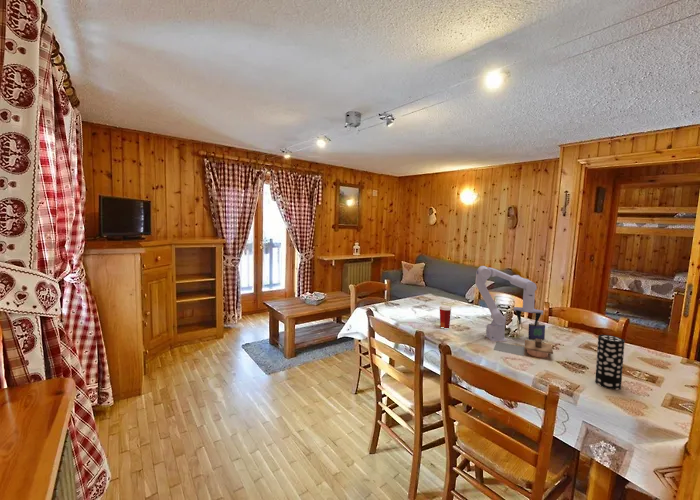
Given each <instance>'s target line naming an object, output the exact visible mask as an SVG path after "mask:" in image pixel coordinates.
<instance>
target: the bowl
mask: <svg viewBox="0 0 700 500" xmlns="http://www.w3.org/2000/svg"><path fill="white" fill-rule="evenodd" d="M526 350H527V351H526V352H527V354H528V355H530V356H532V357H536V358H545V359H546V358H548V357H549V353H545V352H539V351H533V350H528V349H526Z"/></svg>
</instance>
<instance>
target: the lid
mask: <svg viewBox="0 0 700 500" xmlns="http://www.w3.org/2000/svg"><path fill="white" fill-rule="evenodd" d="M524 347H525V349H524V350H527V349H528V350H533V351H539V352H545V353H548V354H551V355H553V354H554V351H553V347H552V343H547V342H546V343H545V342H542V340H541V339H537V338H536V339H535V340H530V339H528V340H527V339H524Z"/></svg>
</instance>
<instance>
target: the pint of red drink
mask: <svg viewBox="0 0 700 500" xmlns="http://www.w3.org/2000/svg"><path fill="white" fill-rule="evenodd" d="M438 309H439V325H440V326H441V327H444V328H449V329H450V324H451V323H450V322H451V316H452V314H451V311H452V308H451V306H450V305H443V304H442V305H439V308H438ZM441 327H440V328H441Z"/></svg>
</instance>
